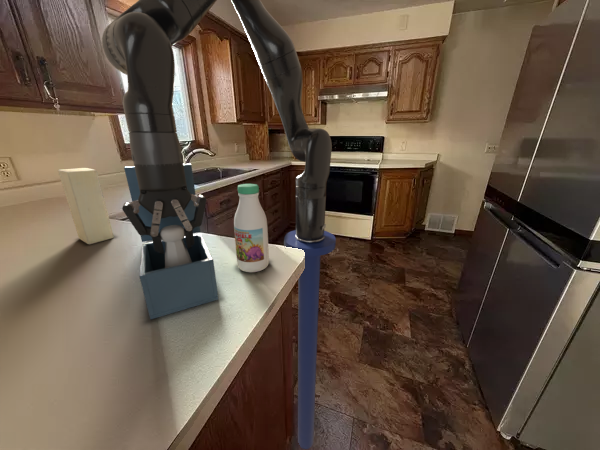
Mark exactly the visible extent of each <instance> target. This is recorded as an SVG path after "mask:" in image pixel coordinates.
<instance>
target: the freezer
mask: <svg viewBox="0 0 600 450" xmlns="http://www.w3.org/2000/svg"><path fill="white" fill-rule="evenodd" d="M193 237H194V245H191V248H190V249H188V248H187V244H186V238H185V237H184V238H183V240H184V243H185V245H186V248H187V250H188V253H189V255H190V258H191V260H192V262H191V263H187V264H182V265H178V266H173V267H169V268H165V242H164V241H162V244H163V249H164V254H160V253H159V252H156V251H155V249H154V245H153V241H147V242H142V245H141V253H140V255H141V256H140V265H139V275H138V276H139V280H140V284H141V290H142V292H143V296H144V301H145V305H146V308H147V312H148V316H149V320H155V319H157V318H161V317H164V316H167V315H171V314H174V313H177V312H180V311H184V310H187V309H192V308H194V307H198V306H200V305H204V304H208V303H211V302H214V301H218V300H219V293H218V284H217V277H216V270H215V269H216V268H215V262H214V258H213V256H212V254H211V251H210V250H209V248H208V245H207V243H206V242H205V239H204V237H203V235H202V234H201V233H195V234H193Z"/></svg>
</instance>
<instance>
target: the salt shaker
mask: <svg viewBox="0 0 600 450" xmlns="http://www.w3.org/2000/svg"><path fill="white" fill-rule="evenodd" d="M160 236H161V239H162V241H164V242H165V268H169V267H173V266H178V265H182V264H187V263H191V262H192V260H191V258H190V255H189V253H188V250H187V248H186V245H185V243H184V240H183V238H184V237H185V230H184V228H183V227H182V226H180V225H170V226H166V227H164V228H162V229H161V230H160Z"/></svg>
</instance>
